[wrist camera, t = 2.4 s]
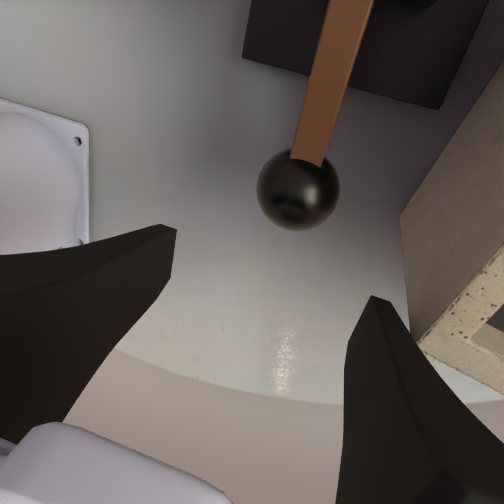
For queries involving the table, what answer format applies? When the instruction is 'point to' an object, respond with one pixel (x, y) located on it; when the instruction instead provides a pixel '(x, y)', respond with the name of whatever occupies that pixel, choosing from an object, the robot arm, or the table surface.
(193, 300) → the table surface
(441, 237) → the beige open box
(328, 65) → the lever
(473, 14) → the lever stand
